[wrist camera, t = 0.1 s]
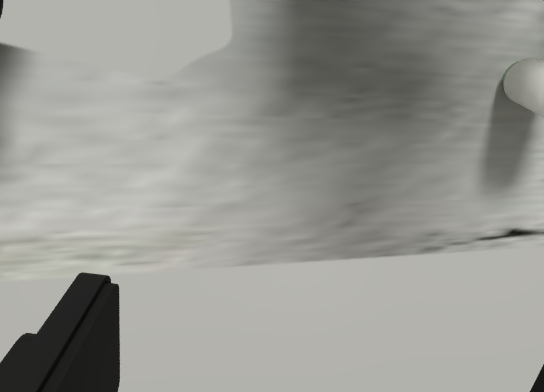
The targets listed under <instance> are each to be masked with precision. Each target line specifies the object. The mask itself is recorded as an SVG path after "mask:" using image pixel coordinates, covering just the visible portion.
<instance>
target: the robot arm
mask: <svg viewBox="0 0 544 392" xmlns="http://www.w3.org/2000/svg"><path fill="white" fill-rule="evenodd" d="M119 342H120V341H119V286H118V284H113V283H111V279H110V277H109V276H107V275H99V274H90V273H80V274H79V275H78V276H77V277H76V279H75V280H74V281H73V283H72V284H71V286H70V287H69V289H68V290H67V291H66V293H65V294H64V296H63V297H62V299H61V300H60V301H59V303H58V304H57V306H56V307H55V309H54V310H53V311H52V313H51V314H50V316H49V317H48V319H47V320H46V321H45V323H44V324H43V326H42V327H41V329H40V330H39V331H38V333H37V334H31V333H26V334H24V335H22V336H21V337H20V338H19V339H18V340H17V341H16V342H15V344H14V345H13V347H12V348H11V349H10V351H9V352H8V354H7V355H6V356H5V357H4V359H3V360H2V362H1V363H0V392H118V387H119V382H120V351H119V350H120V343H119ZM530 392H544V365H543V367H542V369H541V371H540V373H539V375H538V377H537V379H536V381H535V383H534V385H533V387H532V389H531V391H530Z"/></svg>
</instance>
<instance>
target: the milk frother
mask: <svg viewBox="0 0 544 392" xmlns="http://www.w3.org/2000/svg"><path fill="white" fill-rule="evenodd" d="M2 9H3V0H0V18H1V14H2Z"/></svg>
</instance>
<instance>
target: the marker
mask: <svg viewBox="0 0 544 392" xmlns="http://www.w3.org/2000/svg"><path fill="white" fill-rule="evenodd" d="M503 87H504V91H505V94H506V95H507V97H508V98H509V99H510V100H512V101H514V102H516V103H517V104H519V105H521V106H523V107H525V108H527V109H529V110H531V111H533V112H534V113H536V114H538V115H540V116H542V117H544V61H542V60H538V59H534V58H529V59H524V60H522V61H519V62H516V63H514V64H513V65H511V66H510V67H509V68H508V69H507V70H506V72H505V74H504V76H503Z"/></svg>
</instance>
